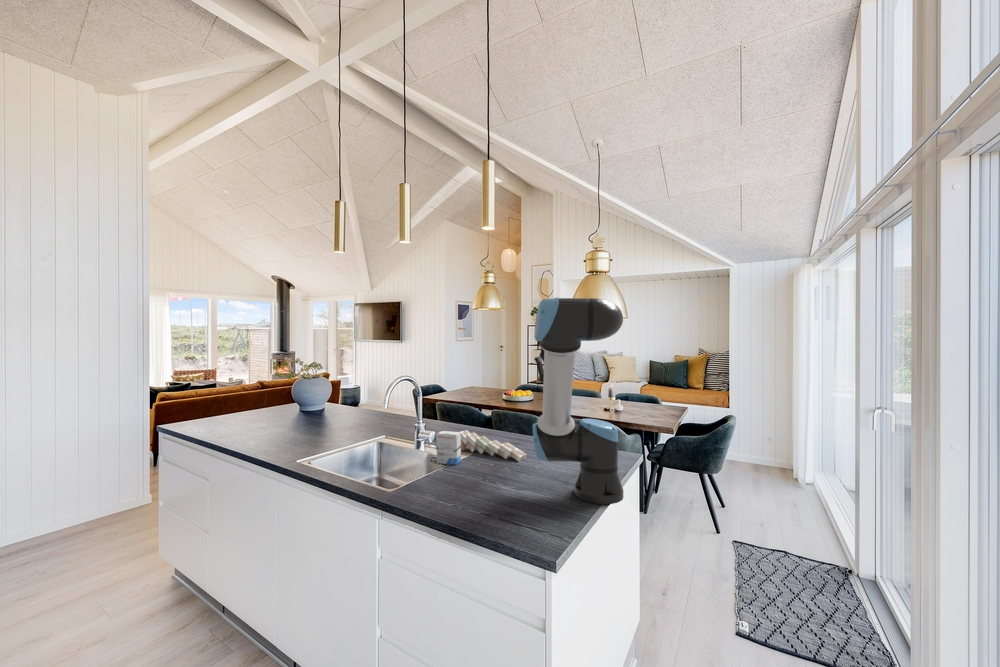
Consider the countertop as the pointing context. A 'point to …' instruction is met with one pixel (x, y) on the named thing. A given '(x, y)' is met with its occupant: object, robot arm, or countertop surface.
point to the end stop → (463, 445)
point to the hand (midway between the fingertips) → (549, 400)
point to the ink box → (448, 447)
